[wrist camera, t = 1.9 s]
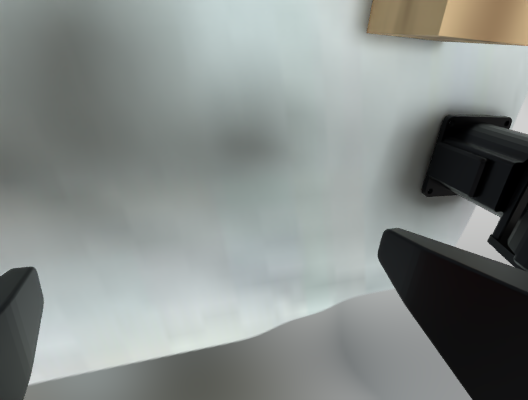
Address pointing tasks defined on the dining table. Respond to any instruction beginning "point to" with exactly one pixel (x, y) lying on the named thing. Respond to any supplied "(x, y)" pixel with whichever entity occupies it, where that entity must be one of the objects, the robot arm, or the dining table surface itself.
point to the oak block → (452, 20)
